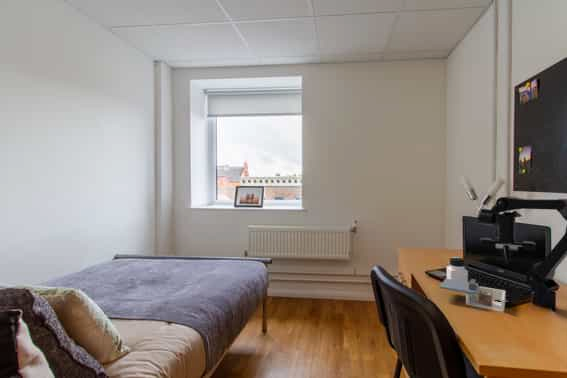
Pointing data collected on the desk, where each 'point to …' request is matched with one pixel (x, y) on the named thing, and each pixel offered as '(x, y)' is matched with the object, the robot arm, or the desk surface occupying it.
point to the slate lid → (460, 285)
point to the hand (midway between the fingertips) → (506, 264)
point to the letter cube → (485, 298)
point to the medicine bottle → (457, 269)
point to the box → (496, 295)
